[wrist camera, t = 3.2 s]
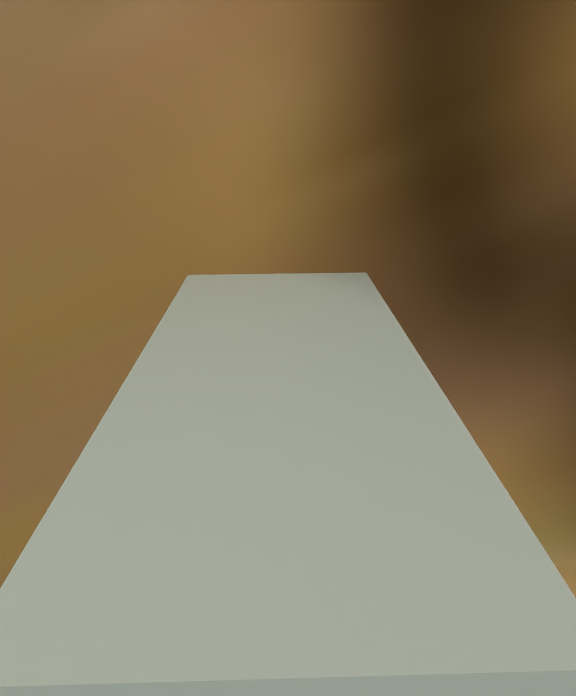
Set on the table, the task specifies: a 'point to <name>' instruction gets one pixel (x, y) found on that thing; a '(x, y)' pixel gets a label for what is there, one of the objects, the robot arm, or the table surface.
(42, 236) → the table surface
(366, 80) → the table surface
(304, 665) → the pale grey rectangular block
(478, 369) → the table surface
